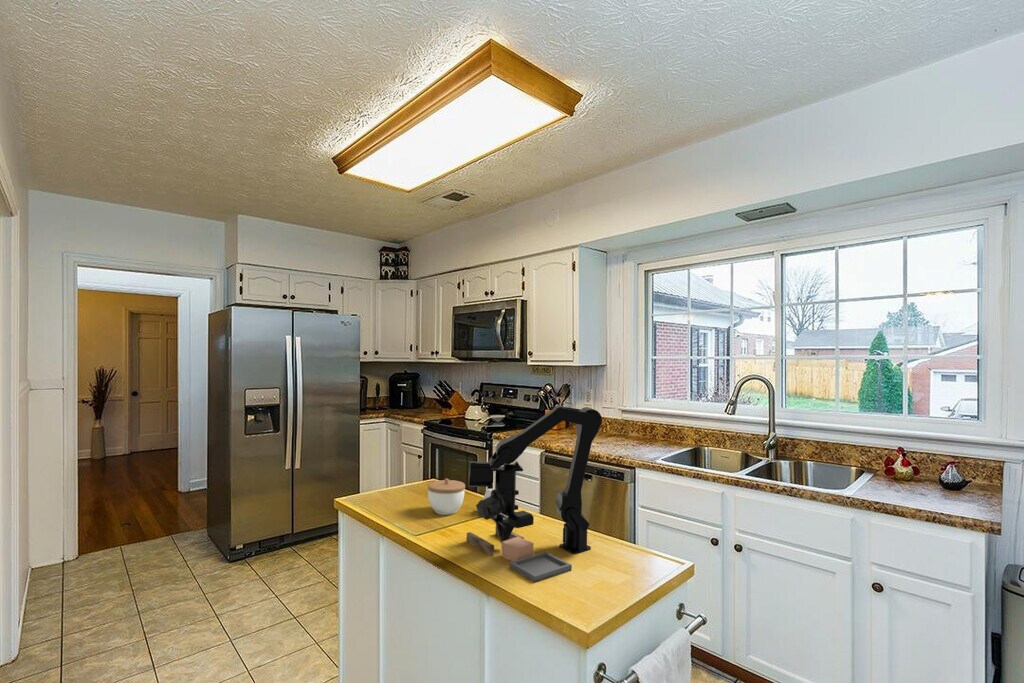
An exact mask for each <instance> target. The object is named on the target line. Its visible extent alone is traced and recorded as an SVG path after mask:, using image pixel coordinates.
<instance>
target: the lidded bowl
mask: <svg viewBox="0 0 1024 683" xmlns="http://www.w3.org/2000/svg"><path fill="white" fill-rule="evenodd" d="M465 489H466V484H465V483H464V482H462V481H459V480H453V479H452V480H451V479H449V478H444V479H441V480H435V481H432V482H429V483H428V484H427V497H428V498H427V499H428V502H429V505H430V507H431V508H432V509H433V510H434V512H435V513H436V514H437V515H440V516H442V515H444V516H450V515H454V514H456V513H457V511H458V510H459V509H460V508H461V506H462V505H463V502H464V499H465V494H466V493H465Z"/></svg>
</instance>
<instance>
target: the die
mask: <svg viewBox="0 0 1024 683" xmlns="http://www.w3.org/2000/svg"><path fill="white" fill-rule="evenodd" d="M494 489H495V488H487V489H486V491H485V494H484V495H483V498H482V500H484V499H486V498H489V497H490V496H491V491H492V490H494Z"/></svg>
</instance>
